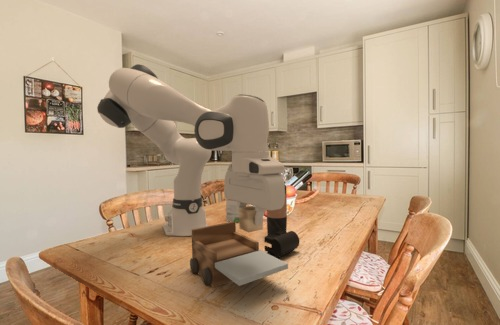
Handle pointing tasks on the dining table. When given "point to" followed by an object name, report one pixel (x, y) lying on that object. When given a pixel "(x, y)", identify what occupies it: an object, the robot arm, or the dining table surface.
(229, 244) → the tray
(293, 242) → the end cap
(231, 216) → the ink box
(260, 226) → the beech block
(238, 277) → the tailgate
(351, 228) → the dining table surface
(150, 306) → the dining table surface
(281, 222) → the travel mug
